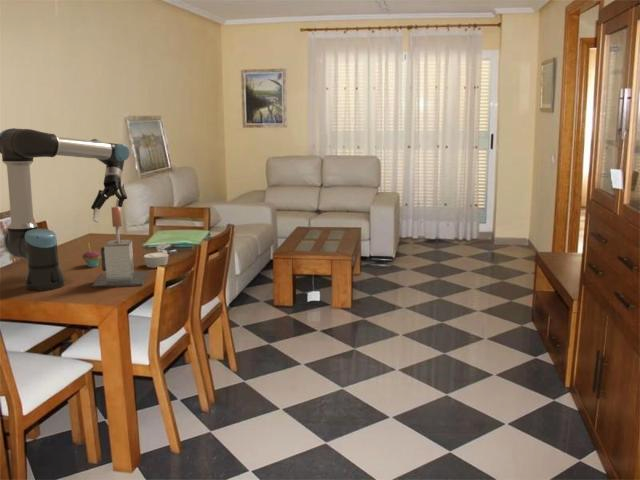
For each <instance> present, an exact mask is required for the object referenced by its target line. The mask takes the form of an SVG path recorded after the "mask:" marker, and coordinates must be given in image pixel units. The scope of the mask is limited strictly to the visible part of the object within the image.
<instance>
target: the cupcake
mask: <svg viewBox="0 0 640 480" xmlns="http://www.w3.org/2000/svg"><path fill="white" fill-rule="evenodd" d="M90 246H91V245H90V243H89V242H87V247H88V251H86V252H84V253H83V254H82V255H81V257H82V260H83V261H84V262H85V264H86V267H89V268H93V267H94V268H95V267H98V266H99V262H100V260H101V259H102V258H101V252H99V251H96V250H91V247H90Z"/></svg>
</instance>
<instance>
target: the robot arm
mask: <svg viewBox="0 0 640 480" xmlns="http://www.w3.org/2000/svg"><path fill="white" fill-rule="evenodd" d="M0 154H1V161H2V163H3V164H5V165H6V172H7V184H8V185H7V186H8V198H9V210H10V211H9V212H10V223H9V224H8V225H7V232H6V234H4V237H3V246H4V248H5V250H6V251H7V252H8V253H9V255H13V256H15V257H17V258H22V259H23V258H24V259H27V268H28V269H27V274H26V278H25V280H24V281H25V282H24V283H25V289H26V290H29V291H36V292H39V291H49V290H55V289H59V288H61V287H64V286H65V284H66V280H65V277H64V275H63V273H62V270H61V268H60V265H59V264H60V263H59V254H58V253H59V251H58V239H57V235H56V233H55V232H54V230H51V229H45V228H39V227H38V224H37V223H36V222H35V221H34V209H33V195H32V194H33V193H32V183H31V182H32V179H31V168H30V167H31V165H32V164H33V162H34V158H55V157H56V156H61V157H62V156H63V157H74V158H84V159H85V158H86V159H96V160H98V161H99V162H101V163H102V164H104V165H105V166H106V167H105V174H104V179H103V187H104V188H103V190H101V189H98V193H97V196H96V197H95V198H94V201H93V203H92V205H91V207H90V208H91V210H93V216H92V217H93V218H92V221H93V222H95V223H97V224H99V221H100V217H101V211H102V210H101V208H103V205H104V204H105V202H106V201H107V200H109V198H111V197H114V196H115V197H116V198H117V199H116V202H115V207H120V210H121V211H122V207H123V204H124V201H125V200H127V199H128V196H127V192H126V190H125V184H124V183H122V176H123V171H124V165H125V161H127V160H128V159H129V158H130V155H131V150H130V148H129V146H128V145H126V144H123V143H111V142H105V141H101V140H99V139H97V138H92V139H91V140H87V139H80V138H79V139H78V138H70V137H61V136H57V135H56V134H54V133H50V132H49V133H48V132H44V131H39V130H35V129H31V128H15V127H14V128H7V129H5V130H2V131H1V132H0ZM118 190H119V191H118Z"/></svg>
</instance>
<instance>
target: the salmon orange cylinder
mask: <svg viewBox="0 0 640 480" xmlns="http://www.w3.org/2000/svg"><path fill="white" fill-rule="evenodd" d="M111 219H112V220H111V221H112V227H113V228H115V237H116V238H115V240H116V241H117V243H120V240H121V238H120V227H122V224H123V223H122V209H121V210H120V207H116V206H111Z"/></svg>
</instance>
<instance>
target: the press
mask: <svg viewBox="0 0 640 480" xmlns="http://www.w3.org/2000/svg"><path fill="white" fill-rule="evenodd" d="M100 254H101V258H100V259H101V269H102V271H103V272H104V273H99V275H98V276H97V277H96V280H95V281H94V283H93V284H92V286H91V287H92V289H101V288H103V289H105V288H123V287H124V288H126V287H142V286H143V285H144V283H145V280H146V278H147V275H148V271H135V266H134V253H133V239H120V243H117V241H116V239H110V240H106V242H105V243H104V245H103V246H101V247H100Z"/></svg>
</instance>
